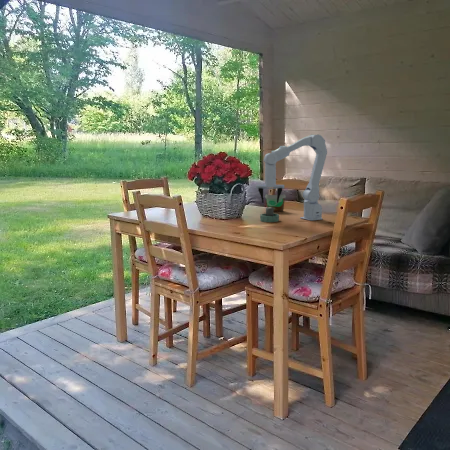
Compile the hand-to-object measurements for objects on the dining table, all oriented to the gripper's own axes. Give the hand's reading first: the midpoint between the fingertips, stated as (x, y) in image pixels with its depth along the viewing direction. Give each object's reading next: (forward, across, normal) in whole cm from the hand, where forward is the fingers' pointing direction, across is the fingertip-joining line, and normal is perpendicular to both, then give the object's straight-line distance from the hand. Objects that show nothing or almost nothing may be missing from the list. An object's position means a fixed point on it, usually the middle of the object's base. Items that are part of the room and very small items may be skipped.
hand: (270, 202), depth 244 cm
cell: (+9, 0, 0) cm, 9 cm away
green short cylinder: (+9, 0, +1) cm, 9 cm away
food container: (+10, -3, -28) cm, 30 cm away
